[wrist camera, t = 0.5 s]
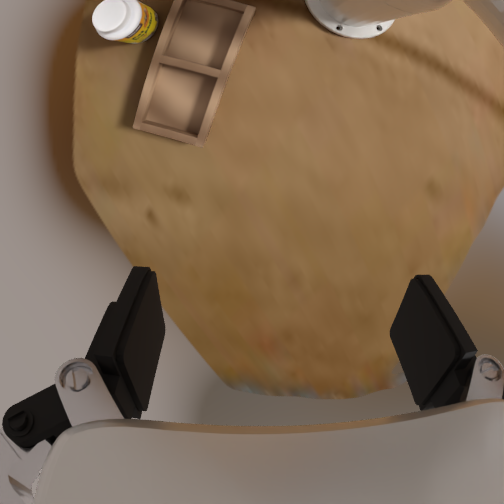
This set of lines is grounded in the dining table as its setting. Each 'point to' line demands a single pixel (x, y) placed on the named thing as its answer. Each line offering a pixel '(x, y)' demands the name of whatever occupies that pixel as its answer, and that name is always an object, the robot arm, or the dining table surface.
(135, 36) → the supplement bottle
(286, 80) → the dining table surface
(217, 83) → the divided well tray
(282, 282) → the dining table surface
